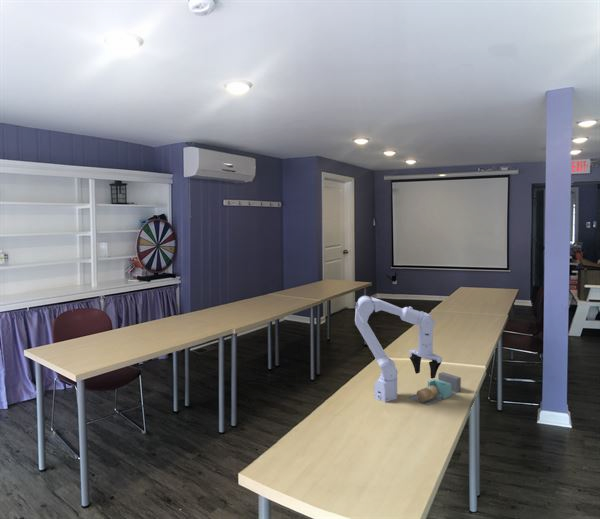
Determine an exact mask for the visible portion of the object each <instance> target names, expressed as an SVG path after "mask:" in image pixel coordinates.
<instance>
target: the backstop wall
mask: <svg viewBox="0 0 600 519" xmlns="http://www.w3.org/2000/svg"><path fill="white" fill-rule="evenodd" d="M437 378H438V379H437V380H441V381H444V382H447V383H450V384H451V391H453V392H456V394H458V393H460V392H461V388H462V387H461V386H462V383H461V382H462V377H460V376H456V375H454V374H450V373H447V372H444V371H442V372H439V373H438V377H437Z"/></svg>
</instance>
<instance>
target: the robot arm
mask: <svg viewBox="0 0 600 519" xmlns="http://www.w3.org/2000/svg"><path fill="white" fill-rule="evenodd" d="M380 311H383V312H386V313H389V314H392V315H396V316H399V318H400V319H401V321H403V322H407V323H410V324H411V325H415V326H418V333H417V334H418V335H417V336H418V338H417V339H418V341H417V342H418V347H417V349H418V350H417V349H413V348H412V349H410V350H409V355H410V356H409V359H410V361H411V364H412V366H413V369H414V373H415V374H420V372H421V363H422V362H421V361H422V358H423V359H426V360H430V361H429V362H428V365H429V369H430V371H429V372H430V373H429V374H430V379H431V380H433V379H436V375H437V372H438V371H439V367H440V366H441V364H442V362H443V357H442V356H439V355H437V354H435V353H434V352H433V351H434V349H433V346H434V331H433V329H434V327H435V324H436V323H435V320H434V318H433V317H432V316H431V314H429V313H428V312H424V311H422V310H421V311H420V310H417V309H413V307H412V306H405V307H403V308H402V307H399V306H397V305H394V304H392V303H390V302H387V301H384V300H381V299H379V298H376V297H373V296H371V297H370V296H369V295H361V296H360V297H359V298H358V300H357V302H356V305H355V312H354V313H355V315H354V324H355V326H356V328H357V329H358V331H359V333H360V334H361V337H363V340H364V342H366V345H367V346H368V348H369V350H370V351H371V353H372V355H373V356H374V358H375V360H376V361H377V364H378V366H379V367H380V368H379V369H380V370H381V373H380V374H379V378H378V379H377V380H376V381H375V382H374V384H373V385H374V386H373V388H374V389H373V390H374V391H373V392H374V393H373V397H374V399H376V400H378V401H380V402H382V403H387V402H389V401H390V402H391V401H393V400H394V401H395V400H396V399H398V375H399V374H398V373H399V372H398V369H397V367H396V364H395V362H394V360H393V359H391V358H390V357H389V356H388V355H387V353H386V352H385V349H383V347H382V345H381V344H380V342H379V339H378V338H377V337H376V334H375V332H374V331H373V330H372V328H371V326H370V325H369V323H368V322H369V321H368V320H369V317H370V315H371V314H372V313H374V312H375V313H378V312H380Z"/></svg>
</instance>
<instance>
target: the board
mask: <svg viewBox="0 0 600 519" xmlns="http://www.w3.org/2000/svg"><path fill="white" fill-rule="evenodd" d="M456 394H457V393H456V392H453V391H451V396H450V397H452V396H453V395H456ZM409 399H411V400H413V401H414V402H418V403H421V404H424V405H425V406H430V405H433V404H435V403H437V402H439V401H441V400H444V399H443V398H442V394H438V396H437V397H435V398H432V399H430V400H428V401H425V402H421V401H419V400H418V398H417V394H414V395H412V396H409Z"/></svg>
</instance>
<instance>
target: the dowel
mask: <svg viewBox="0 0 600 519" xmlns="http://www.w3.org/2000/svg"><path fill="white" fill-rule="evenodd" d="M438 394H439V392H438V389H437V388H436V387H435V386H433V385H431V386H429V387H428V386H427V387H424V388H421V389H419V390H417V391H416V396H417V399H418V400H419V401H421V403H422V402H423V403H426V402H428V400H430V399H432V398H435V397H438ZM425 401H426V402H425Z"/></svg>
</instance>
